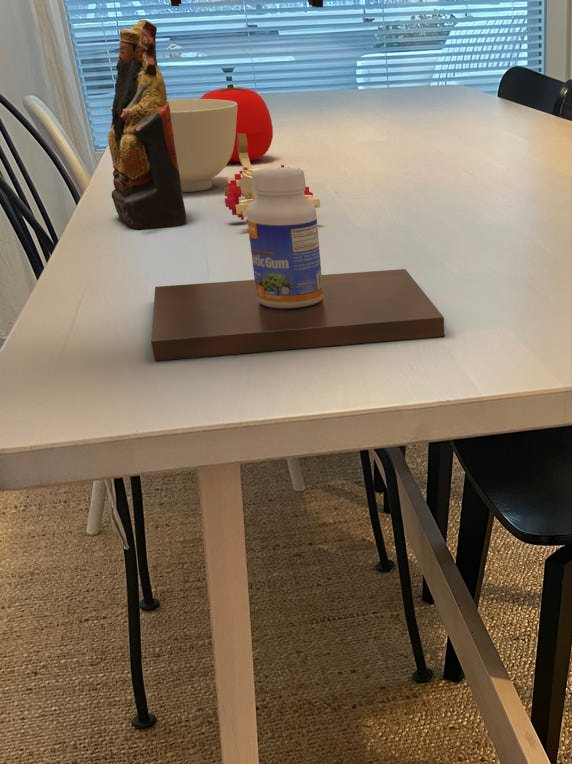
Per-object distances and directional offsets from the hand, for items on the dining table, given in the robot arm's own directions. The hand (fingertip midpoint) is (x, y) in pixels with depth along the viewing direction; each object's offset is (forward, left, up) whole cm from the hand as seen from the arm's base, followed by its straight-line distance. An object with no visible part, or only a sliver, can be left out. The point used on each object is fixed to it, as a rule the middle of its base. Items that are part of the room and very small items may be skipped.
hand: (247, 6), depth 69 cm
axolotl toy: (+2, +44, -22) cm, 49 cm away
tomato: (+1, +90, -22) cm, 93 cm away
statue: (-11, +45, -22) cm, 51 cm away
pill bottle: (+1, 0, -21) cm, 21 cm away
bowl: (-7, +67, -22) cm, 71 cm away
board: (+1, 0, -22) cm, 22 cm away
